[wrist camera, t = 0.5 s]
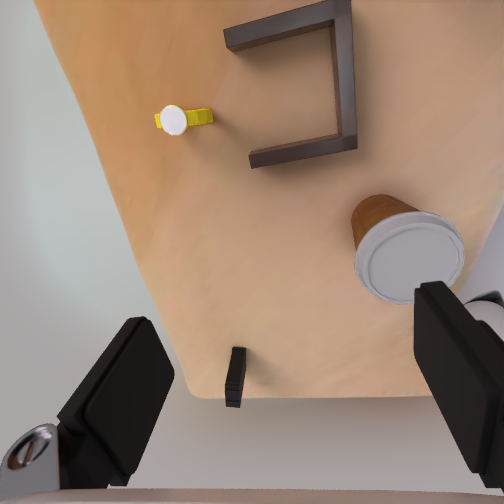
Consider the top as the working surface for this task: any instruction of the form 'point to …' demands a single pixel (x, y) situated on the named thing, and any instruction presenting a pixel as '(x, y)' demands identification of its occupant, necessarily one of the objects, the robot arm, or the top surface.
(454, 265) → the disposable coffee cup
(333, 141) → the bay
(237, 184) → the top surface
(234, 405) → the ink cartridge
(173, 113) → the watch
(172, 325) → the top surface
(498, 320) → the milk bottle
